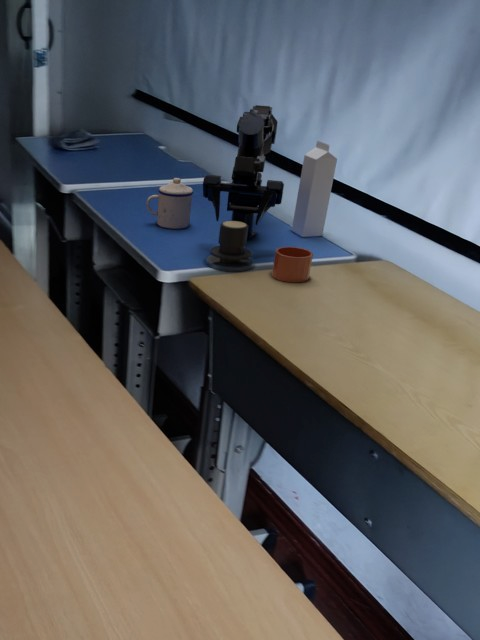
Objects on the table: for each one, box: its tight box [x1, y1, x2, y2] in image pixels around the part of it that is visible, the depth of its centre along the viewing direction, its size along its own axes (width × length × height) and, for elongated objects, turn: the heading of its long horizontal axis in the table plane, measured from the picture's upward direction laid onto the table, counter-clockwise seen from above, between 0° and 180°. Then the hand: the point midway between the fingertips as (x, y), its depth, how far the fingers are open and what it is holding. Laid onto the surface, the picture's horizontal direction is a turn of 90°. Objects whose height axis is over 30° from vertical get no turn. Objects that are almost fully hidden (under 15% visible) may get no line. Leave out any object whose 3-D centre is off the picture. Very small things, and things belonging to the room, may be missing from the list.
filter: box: [209, 220, 253, 264], centre depth 193 cm, size 10×10×8 cm
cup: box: [271, 246, 314, 283], centre depth 188 cm, size 8×8×6 cm
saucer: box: [205, 254, 254, 272], centre depth 195 cm, size 11×11×1 cm
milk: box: [291, 140, 338, 238], centre depth 212 cm, size 6×6×22 cm
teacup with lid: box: [146, 177, 194, 230], centre depth 219 cm, size 12×9×12 cm
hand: (236, 222), depth 195 cm, fingers open, 9 cm apart
